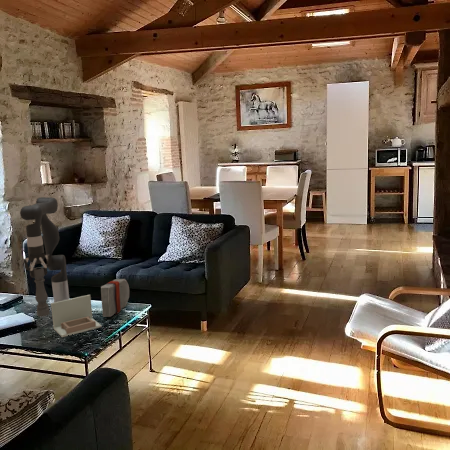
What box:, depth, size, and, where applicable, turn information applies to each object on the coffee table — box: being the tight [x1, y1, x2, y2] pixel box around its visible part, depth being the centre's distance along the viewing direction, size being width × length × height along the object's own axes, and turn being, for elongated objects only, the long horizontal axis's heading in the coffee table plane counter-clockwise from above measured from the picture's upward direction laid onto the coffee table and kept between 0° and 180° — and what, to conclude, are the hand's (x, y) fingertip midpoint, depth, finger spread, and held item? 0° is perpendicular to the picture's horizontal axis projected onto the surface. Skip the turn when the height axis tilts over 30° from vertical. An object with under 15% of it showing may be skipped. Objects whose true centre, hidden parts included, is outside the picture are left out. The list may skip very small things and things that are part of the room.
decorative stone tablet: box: [100, 278, 130, 318], centre depth 306 cm, size 19×6×30 cm
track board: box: [50, 294, 102, 338], centre depth 282 cm, size 15×22×15 cm
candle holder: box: [33, 266, 51, 318], centre depth 267 cm, size 6×6×25 cm
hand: (38, 276), depth 265 cm, fingers closed on candle holder, 5 cm apart
